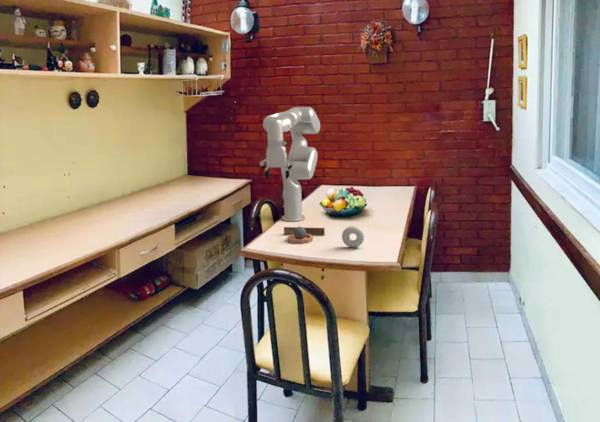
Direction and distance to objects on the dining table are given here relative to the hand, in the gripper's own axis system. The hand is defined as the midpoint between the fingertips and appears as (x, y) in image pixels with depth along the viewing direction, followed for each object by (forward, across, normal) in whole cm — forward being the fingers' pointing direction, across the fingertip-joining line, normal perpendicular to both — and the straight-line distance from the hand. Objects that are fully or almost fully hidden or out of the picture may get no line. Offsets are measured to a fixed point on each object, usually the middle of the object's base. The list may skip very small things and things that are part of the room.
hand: (277, 178), depth 278 cm
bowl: (+26, -14, +20) cm, 35 cm away
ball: (+22, -14, +20) cm, 33 cm away
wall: (+26, -14, +10) cm, 31 cm away
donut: (+26, -39, +30) cm, 56 cm away
